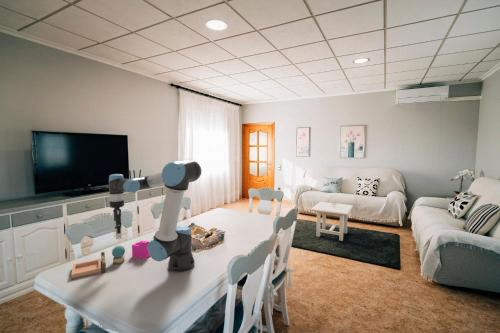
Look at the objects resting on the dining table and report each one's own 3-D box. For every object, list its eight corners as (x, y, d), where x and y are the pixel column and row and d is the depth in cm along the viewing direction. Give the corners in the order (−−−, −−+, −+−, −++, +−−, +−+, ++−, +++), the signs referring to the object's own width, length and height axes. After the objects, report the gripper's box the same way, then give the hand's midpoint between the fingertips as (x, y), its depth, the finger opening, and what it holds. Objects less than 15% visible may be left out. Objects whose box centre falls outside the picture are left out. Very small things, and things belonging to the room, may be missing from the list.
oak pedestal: (124, 262, 146) (124, 258, 146) (113, 265, 143) (113, 260, 143) (123, 258, 151) (123, 254, 151) (112, 261, 148) (112, 256, 148)
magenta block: (146, 258, 152) (145, 243, 151) (132, 256, 154) (131, 241, 154) (157, 250, 164) (157, 236, 163) (144, 249, 166) (144, 234, 165)
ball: (125, 258, 146) (125, 246, 145) (112, 260, 142) (112, 249, 141) (124, 253, 152) (124, 242, 151) (111, 256, 148) (111, 245, 147)
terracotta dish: (101, 272, 135) (101, 268, 135) (71, 279, 128) (71, 274, 127) (100, 262, 146) (100, 258, 146) (73, 268, 139) (73, 264, 139)
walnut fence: (106, 272, 135) (105, 263, 135) (102, 273, 134) (101, 264, 134) (104, 259, 150) (104, 251, 149) (101, 260, 149) (101, 252, 148)
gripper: (126, 203, 136) (127, 240, 137) (121, 195, 156) (122, 227, 158) (110, 205, 132) (111, 243, 133) (108, 196, 152) (109, 229, 154)
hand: (117, 234), depth 146 cm, fingers open, 13 cm apart
